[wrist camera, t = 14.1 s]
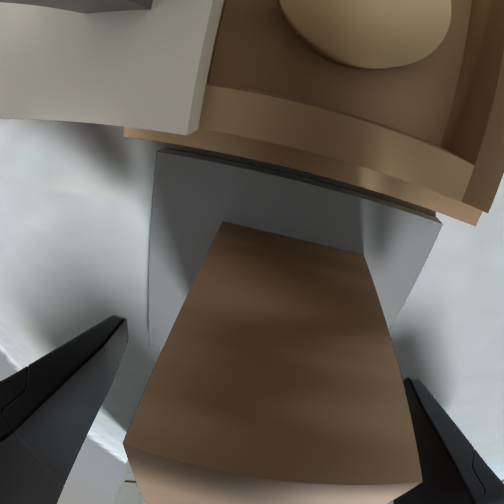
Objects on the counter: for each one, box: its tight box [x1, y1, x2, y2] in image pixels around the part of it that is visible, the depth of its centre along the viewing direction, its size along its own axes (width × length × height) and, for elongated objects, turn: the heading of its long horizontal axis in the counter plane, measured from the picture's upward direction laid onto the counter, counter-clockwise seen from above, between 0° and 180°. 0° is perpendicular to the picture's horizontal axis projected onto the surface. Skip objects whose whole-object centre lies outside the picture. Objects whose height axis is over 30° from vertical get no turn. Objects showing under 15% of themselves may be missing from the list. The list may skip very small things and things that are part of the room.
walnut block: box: [123, 221, 423, 504], centre depth 9 cm, size 5×5×8 cm
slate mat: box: [149, 148, 443, 348], centre depth 12 cm, size 10×9×1 cm
